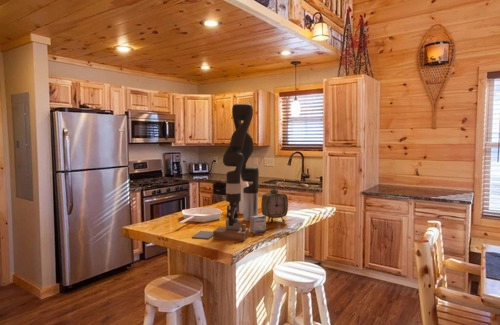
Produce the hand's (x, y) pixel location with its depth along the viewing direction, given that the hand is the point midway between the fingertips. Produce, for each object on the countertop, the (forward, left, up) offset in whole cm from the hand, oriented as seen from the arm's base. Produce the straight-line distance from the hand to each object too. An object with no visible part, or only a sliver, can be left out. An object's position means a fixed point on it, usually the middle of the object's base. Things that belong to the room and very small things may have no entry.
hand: (233, 223), depth 170 cm
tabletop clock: (-38, +15, -7) cm, 42 cm away
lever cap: (0, 0, -3) cm, 3 cm away
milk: (-61, -12, -7) cm, 63 cm away
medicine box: (-14, +10, -7) cm, 19 cm away
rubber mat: (0, -16, -7) cm, 17 cm away
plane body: (0, -1, -7) cm, 7 cm away
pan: (-30, -32, -8) cm, 44 cm away
